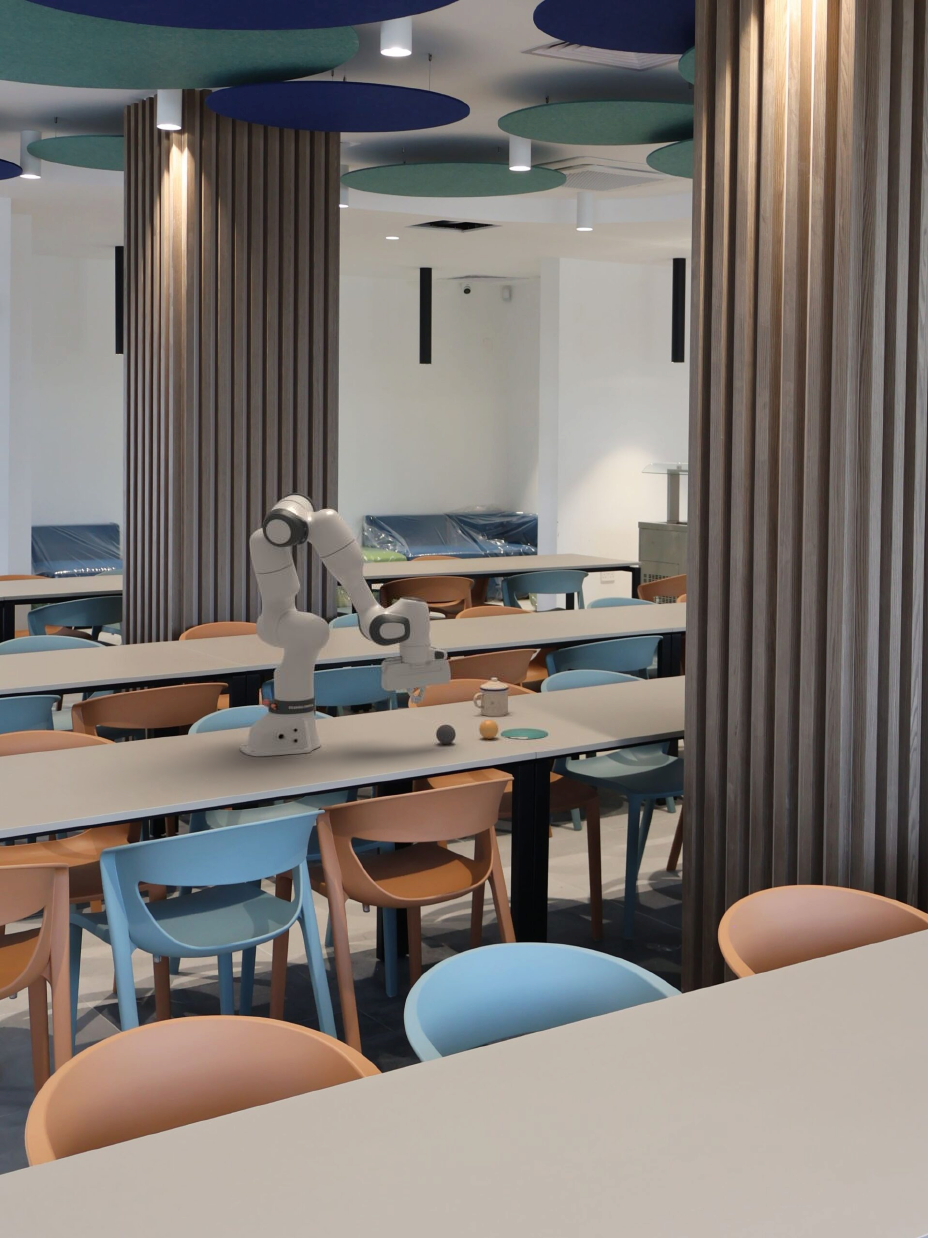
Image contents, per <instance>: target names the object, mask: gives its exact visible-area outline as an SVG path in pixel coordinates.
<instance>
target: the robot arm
mask: <svg viewBox="0 0 928 1238" xmlns="http://www.w3.org/2000/svg"><path fill="white" fill-rule="evenodd" d="M306 542H309V543H310V544H311V545H312V546H313V547H314V549H315V550H316V553H317V555H318V557H319V558H320V560H321V562H322V563H323V565H324V567H326V569H327V570H328V571H329V573H330V574H331V575H332V576H333V577H334V578H335V579H336V580H337V582H339V584H340V585H341V586H342V587H343V589H344V591H345V593H346V594H347V596H348V599H349V600H350V602H351V604H352V606H353V607H354V609H355V612H356V616H357V625H358V630H359V631H360V634H361V635H362V637H364V638H365V639H366V640H368V641H371V642H373V643H374V644H376V645H378V646H380V647H381V646H382V647H388V646H393V645H397V644H398V645H399V648H398V649H399V655H398V656H393V657H392V656H389V657H386V658H385V659H383V661H382V662H381V669H380V670H381V686H380V687H381V688H382V689H383V690H384V691H387V692H392V691H393V692H394V691H400V690H406V692H407V693H408V695H409V696H410V703H411V704H419V703H423V701H424V700H423V699H424V695H425V694H426V692H427V687H429V686H437V685H438V686H440V685H447V684H449V683H450V681H451V679H452V678H451V677H452V675H451V666H450V663H449V661H448V660H447V658H448V652H447V651H445V650H443V649H439V648H436V647H433V646H431V645H432V644H431V643H432V642H431V639H430V630H431V618H430V617H431V616H430V610H429V605H428V602H426V601H425V600H423V599H421V598H418V597H414V596H402V597H400V598H399V600H398V601H396V602H395V603H393V604H392V605H390V606H389V607H384V606H382V605H381V604H380V603H378V601H377V600H376V598H375V597H374V594H373V593H372V591H371V589H370V587H369V585H368V583H367V581H366V579H365V577H364V570H363V569H364V565H365V563H366V562H365V561H366V559H365V556H364V554H363V551H362V548H361V545H360V543H359V542H358V540H357V538H356V536H355V534H354V533H353V531H352V529H351V528H350V527H349V525H348V524H347V522H346V521H345V520H344V518H343V517H342V516H341V515H340V514H339V513H338V511H336V510H335V509H334V508H323V509H320V510H318V511H317V507H316V505H315V503H314V501H313V499H311V497H310V496H308V495H307V494H305V493H301V492H293V493H290V494H287V495H285V496H284V497H283V498H281V499H280V500H279V501H278V502H276V503H275V504H274V505H273V507H272V508H271V510H270V511H269V512H268V513H267V514H266V515H265V517H264V519H263V522H262V527H261V528H258V529H257V530H255V531H254V532H253V533H252V535H250V538H249V552H250V558H251V559H250V560H251V563H252V568H253V571H254V574H255V578H256V581H257V585H258V587H259V593H260V595H261V614H260V615H259V616H258V618H257V620H256V625H255V630H256V635H257V637H258V638H259V639H260V641H262V642H264V643H266V644H267V645H269V646H271V647H274V648H278V649H279V648H280V649H283V650H284V651H283V658H282V660H281V663H280V664H279V665H278V666H277V667H275V670H274V671H273V684H274V685H273V687H274V688H273V692H274V697H273V698H272V699H271V700H270V699H267V698H265V699H263V701H262V706H263V707H266V708H267V709H268V712H266V713H265V714H264V715H263V716H262V717H261V718H259V720H257V721H256V722H255V723H253V724H252V725H251V727H250V729H249V731H248V737H247V742H245V743H241V745H240V748H239V749H240V751H241V752H242V753H243V754H246V755H248V756H251V757H252V756H253V757H267V756H268V757H269V756H270V757H271V756H282V755H297V754H307V753H308V754H309V753H310V752H312V751H313V750H315V749H319V747H320V746H322V745H321V742H320V738H319V734H318V730H317V723H316V714H317V704H316V703H317V702H316V696H314V689H315V688H314V684H315V683H314V680H315V678H314V673H315V666H316V662H317V658H318V656H319V653H320V652H321V650H322V649H323V648H325V646H326V645H327V643H328V641H329V639H330V635H331V634H330V633H331V631H330V626H329V624H328V622H327V621H326V620H325V618H322V617H321V616H319V615H317V614H314V613H312V612H306V611H299V610H298V609H297V608H296V595H298V593H299V592H300V589H301V584H300V583H301V582H300V581H299V576H298V574H297V573H298V572H297V570H296V566H295V563H294V559H293V555H292V552H291V547H292V546H297V545H304V544H305V543H306ZM416 688H418V689H419V691H418V695H415V694H414V693H415V689H416Z"/></svg>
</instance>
